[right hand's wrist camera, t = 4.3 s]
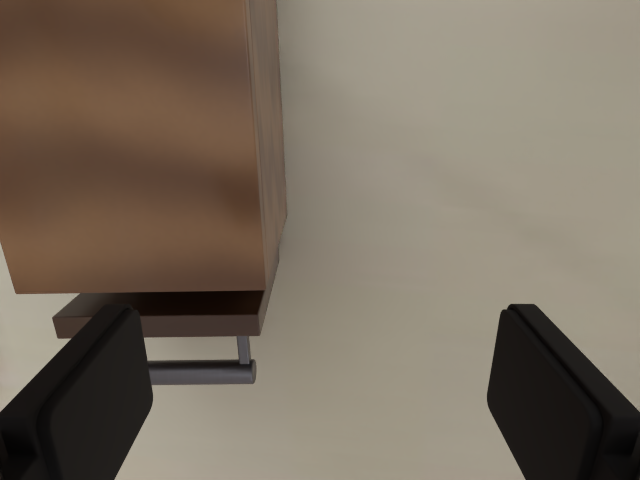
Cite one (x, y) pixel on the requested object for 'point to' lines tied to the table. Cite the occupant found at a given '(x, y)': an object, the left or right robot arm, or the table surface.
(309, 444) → the table surface
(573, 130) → the table surface
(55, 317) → the drawer
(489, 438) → the table surface
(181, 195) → the cabinet
